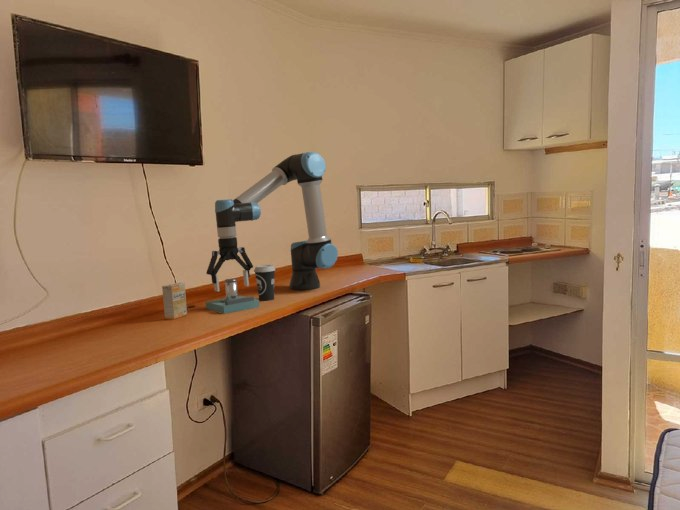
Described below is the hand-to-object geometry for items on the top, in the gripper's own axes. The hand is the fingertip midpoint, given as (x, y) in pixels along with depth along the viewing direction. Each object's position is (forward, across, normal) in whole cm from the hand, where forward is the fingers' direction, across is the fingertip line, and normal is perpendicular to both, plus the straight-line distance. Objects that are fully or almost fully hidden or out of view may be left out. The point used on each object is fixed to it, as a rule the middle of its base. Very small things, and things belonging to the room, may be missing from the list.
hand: (232, 288), depth 216 cm
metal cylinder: (+8, 0, 0) cm, 8 cm away
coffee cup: (+9, -18, -4) cm, 21 cm away
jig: (+8, +1, 0) cm, 8 cm away
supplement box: (+8, +24, -3) cm, 25 cm away
